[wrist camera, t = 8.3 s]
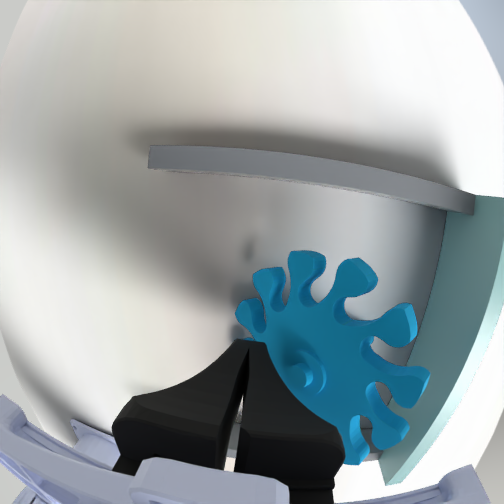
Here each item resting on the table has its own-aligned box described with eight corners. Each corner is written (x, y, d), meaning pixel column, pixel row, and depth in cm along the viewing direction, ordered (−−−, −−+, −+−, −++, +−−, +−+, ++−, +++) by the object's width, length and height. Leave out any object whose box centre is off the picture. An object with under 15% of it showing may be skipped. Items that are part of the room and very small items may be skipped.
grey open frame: (384, 435, 16) (400, 482, 11) (170, 418, 17) (147, 467, 12) (463, 197, 12) (522, 204, 7) (171, 152, 13) (120, 135, 8)
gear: (252, 210, 12) (481, 352, 5) (331, 217, 16) (487, 304, 9) (207, 385, 16) (316, 505, 9) (276, 360, 19) (375, 448, 13)
